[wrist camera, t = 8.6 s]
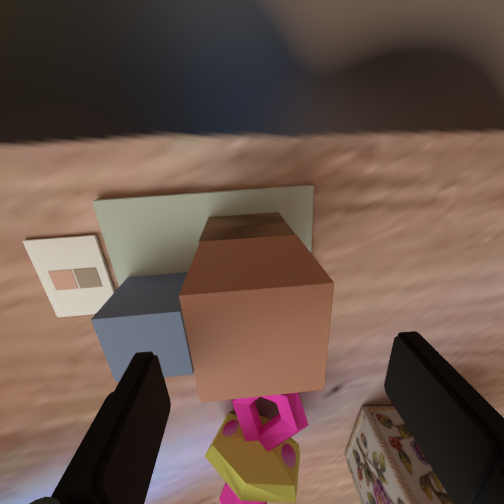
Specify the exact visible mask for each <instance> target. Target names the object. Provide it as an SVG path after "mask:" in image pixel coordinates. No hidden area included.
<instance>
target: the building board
mask: <svg viewBox="0 0 504 504" xmlns="http://www.w3.org/2000/svg"><path fill="white" fill-rule="evenodd" d="M313 199H314V186H313V185H298V186H283V187H269V188H254V189H240V190H225V191H210V192H196V193H181V194H167V195H152V196H138V197H123V198H108V199H97V200H94V201H92V203H93V206H94V209H95V212H96V216H97V219H98V222H99V225H100V228H101V231H102V234H103V238H104V241H105V244H106V247H107V250H108V253H109V256H110V260H111V263H112V266H113V269H114V272H115V275H116V278H117V281H118V285H119V286H120V285H121V284H122V283H123V282H124V281H125V280H126V278H127V277H135V276H147V275H159V274H171V273H183V272H188V271H189V268H190V266H191V263H192V261H193V258H194V256H195V253H196V250H197V248H198V245H199V239H200V237H201V234H202V232H203V229H204V227H205V224H206V222H207V219H208V217H219V216H232V215H246V214H260V213H273V212H279V213H280V215H281V216H282V217H283V219H284V220H285V221H286V222H287V224H288V225H289V226H290V228H291V229H292V230H293V232H294V233H295V235H297V236H298V237H299V238H300V240H301V241H302V242H303V243H304V245H305V246H306V247H307V249H308V250H309V251H310V252H311V245H312V222H313Z"/></svg>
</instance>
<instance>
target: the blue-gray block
mask: <svg viewBox="0 0 504 504" xmlns="http://www.w3.org/2000/svg"><path fill="white" fill-rule="evenodd" d="M187 274H188V272H183V273H171V274H159V275H147V276H135V277H127V278H126V280H125V281H124V282H123V283H122V284H121V285H120V286H119V288H118V289H117V290H116V291H115V292H114V293H113V295H112V296H111V297H110V298H109V299H108V300H107V302H106V303H105V304H104V305H103V306H102V307H101V308H100V310H99V311H98V312H97V313H96V314H95V315H94V317H93V318H92V319H91V321H92V324H93V326H94V329H95V331H96V334H97V336H98V339H99V341H100V344H101V346H102V349H103V351H104V354H105V356H106V359H107V361H108V364H109V366H110V369H111V371H112V374H113V377H114V379H115V382H120V380H121V378H122V376H123V374H124V372H125V370H126V369H127V367H128V365H129V363H130V361H131V359H132V358H133V356H134V354H135V353H137V352H150V351H152V352H153V354H154V355H157V356H158V358H159V362H160V366H161V369H162V373H163V376H164V377H170V376H179V375H189V374H193V373H194V368H193V363H192V358H191V353H190V348H189V343H188V338H187V333H186V328H185V324H184V319H183V314H182V309H181V304H180V299H179V294H180V292H181V289H182V286H183V284H184V281H185V279H186V276H187Z"/></svg>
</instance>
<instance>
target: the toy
mask: <svg viewBox="0 0 504 504" xmlns="http://www.w3.org/2000/svg"><path fill="white" fill-rule="evenodd" d="M259 397H263V398H265V399H268V400H270V401H272V402H275V403H277V406H278V410H279V413H278V414H277V415H276V416H274V417H273V418H272V419H271V420H270V419H268V418H267V417H265V416H259V413H258V410H257V407H256V404H255V400H256V399H257V398H259ZM259 397H249V398H240V399H231V400H232V403H233V406H234V409H235V412H236V413H229V414H228V416H227V417H226V418H225V420H224V422H223V424H222V425H221V427H220V429H219V431H218V433H217V435H216V436H215V438H214V440H213V442H212V444H211V446H210V447H209V449H208V451H207V453H206V455H205V457H206V458H207V459H208V461H209V462H210V463H211V464H212V466H213V467H214V468H215V469H216V470H217V472H218V473H219V474H220V475H221V477H222V478H223V479H224V480H225V482H226V483H225V485H224V488H223V491H222V493H221V496H220V498H219V499H220V503H221V504H267V502H285V503H296V493H297V482H298V470H299V458H300V451H299V444H298V443H297V442H296V441H295V440H293V439H292V438H291V437H292V436H293V435H295V434H296V433H298V432H299V431H301V430H302V429H304V428H305V427H307V426H308V422H307V419H306V416H305V413H304V410H303V407H302V404H301V400H300V397H299V394H298V393H288V394H278V395H269V396H259Z"/></svg>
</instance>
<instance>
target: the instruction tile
mask: <svg viewBox="0 0 504 504" xmlns="http://www.w3.org/2000/svg"><path fill="white" fill-rule="evenodd" d="M23 244H24V246H25V248H26V250H27V252H28V254H29V257H30V259H31V261H32V263H33V265H34V267H35V269H36V272H37V274H38V276H39V278H40V280H41V282H42V285H43V287H44V289H45V291H46V293H47V295H48V298H49V300H50V302H51V304H52V306H53V308H54V311H55V313H56V315H57V317H66V316H77V315H88V314H96V313H97V312H98V311H99V310H100V308H101V307H102V306H103V305H104V304H105V303H106V302H107V300H108V299H109V298H110V297H111V296H112V295H113V293H114V292H115V290H114V287H113V284H112V281H111V278H110V275H109V272H108V269H107V266H106V263H105V260H104V257H103V254H102V251H101V248H100V245H99V242H98V238H97V235H83V236H70V237H57V238H43V239H30V240H24V241H23Z"/></svg>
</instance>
